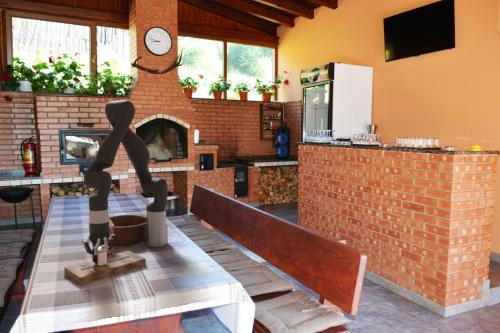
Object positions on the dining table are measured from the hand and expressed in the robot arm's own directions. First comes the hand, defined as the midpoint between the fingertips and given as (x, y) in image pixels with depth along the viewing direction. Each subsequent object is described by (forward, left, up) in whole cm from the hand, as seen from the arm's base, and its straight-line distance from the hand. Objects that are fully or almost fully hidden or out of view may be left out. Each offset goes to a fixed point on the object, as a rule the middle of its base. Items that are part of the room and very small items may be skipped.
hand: (100, 261), depth 157 cm
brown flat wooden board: (-3, 0, -4) cm, 5 cm away
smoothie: (-11, -17, -4) cm, 21 cm away
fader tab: (0, 0, -1) cm, 1 cm away
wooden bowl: (-29, -30, -5) cm, 42 cm away
